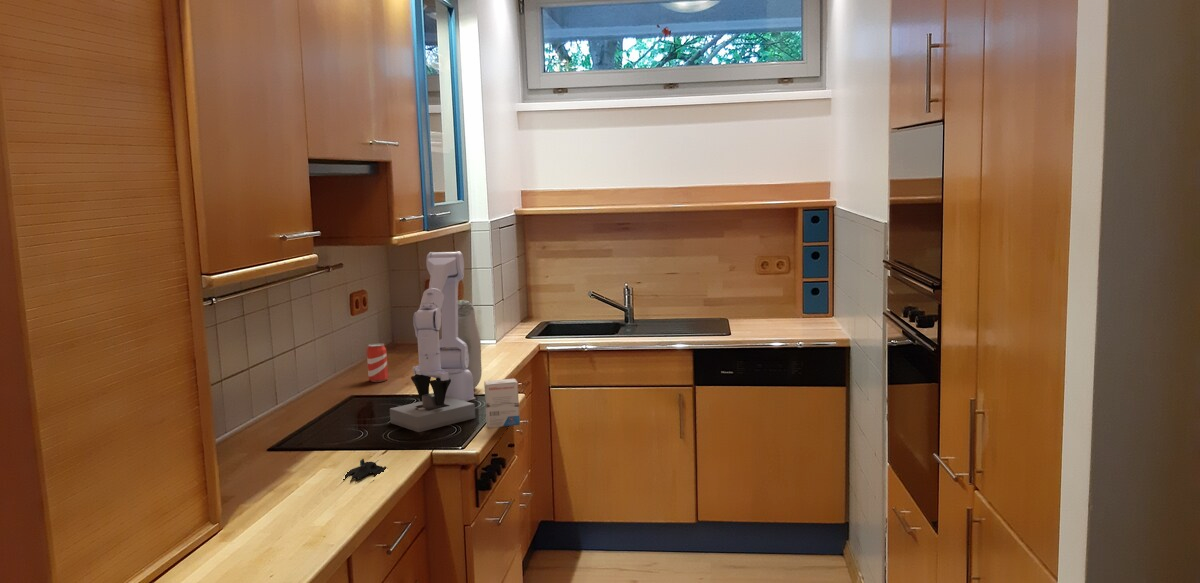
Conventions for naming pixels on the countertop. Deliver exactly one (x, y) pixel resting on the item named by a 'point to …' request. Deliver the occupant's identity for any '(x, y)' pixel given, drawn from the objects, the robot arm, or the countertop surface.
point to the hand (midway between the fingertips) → (432, 402)
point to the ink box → (501, 403)
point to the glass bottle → (470, 338)
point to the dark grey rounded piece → (428, 402)
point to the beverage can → (377, 362)
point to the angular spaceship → (365, 470)
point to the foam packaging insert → (432, 415)
